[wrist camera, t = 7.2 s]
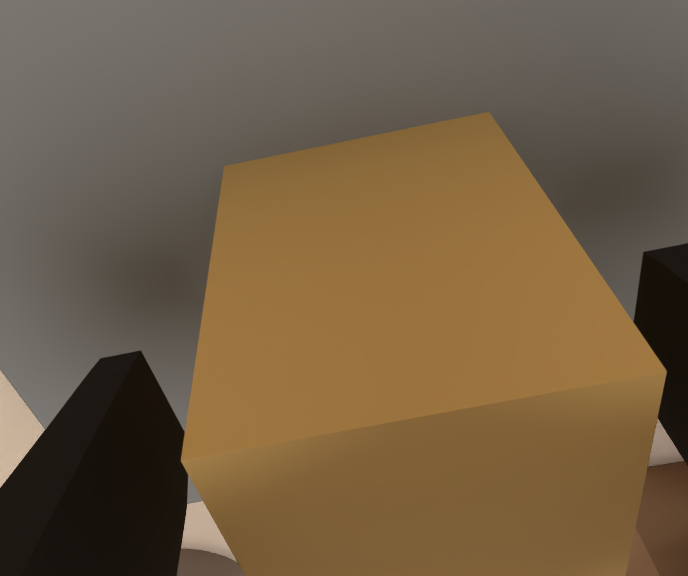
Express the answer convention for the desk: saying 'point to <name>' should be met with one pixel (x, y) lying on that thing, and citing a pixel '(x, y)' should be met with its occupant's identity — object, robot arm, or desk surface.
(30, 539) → the robot arm
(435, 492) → the ochre block
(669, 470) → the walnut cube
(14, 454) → the desk surface
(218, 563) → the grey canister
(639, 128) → the slate mat
